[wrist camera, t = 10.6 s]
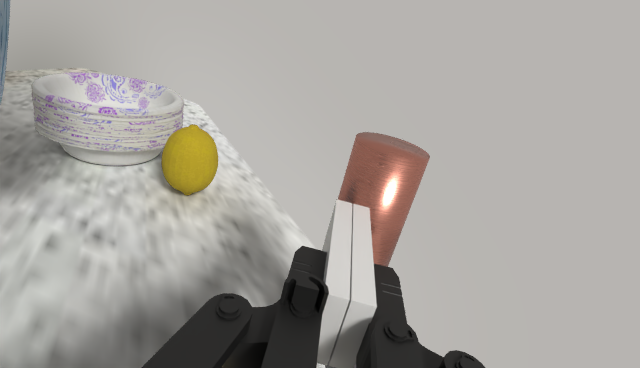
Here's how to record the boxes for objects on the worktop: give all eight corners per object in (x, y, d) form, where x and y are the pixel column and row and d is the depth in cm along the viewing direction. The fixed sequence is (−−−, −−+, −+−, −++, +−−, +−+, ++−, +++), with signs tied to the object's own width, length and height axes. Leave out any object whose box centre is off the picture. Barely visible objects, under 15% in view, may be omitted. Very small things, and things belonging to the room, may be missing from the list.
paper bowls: (42, 183, 34) (36, 103, 31) (32, 129, 44) (26, 64, 41) (197, 173, 44) (204, 111, 41) (160, 131, 54) (163, 78, 51)
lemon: (223, 200, 40) (233, 132, 36) (178, 212, 35) (185, 136, 32) (194, 179, 42) (201, 115, 39) (149, 188, 38) (152, 117, 35)
